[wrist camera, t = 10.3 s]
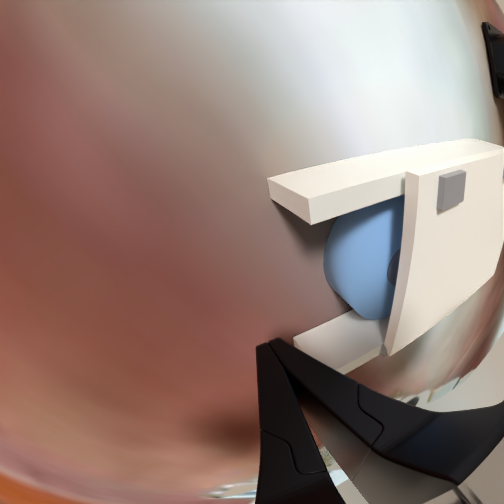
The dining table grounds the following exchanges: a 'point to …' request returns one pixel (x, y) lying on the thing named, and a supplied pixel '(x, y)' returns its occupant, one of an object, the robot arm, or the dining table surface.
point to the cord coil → (366, 256)
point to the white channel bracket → (347, 200)
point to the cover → (446, 241)
